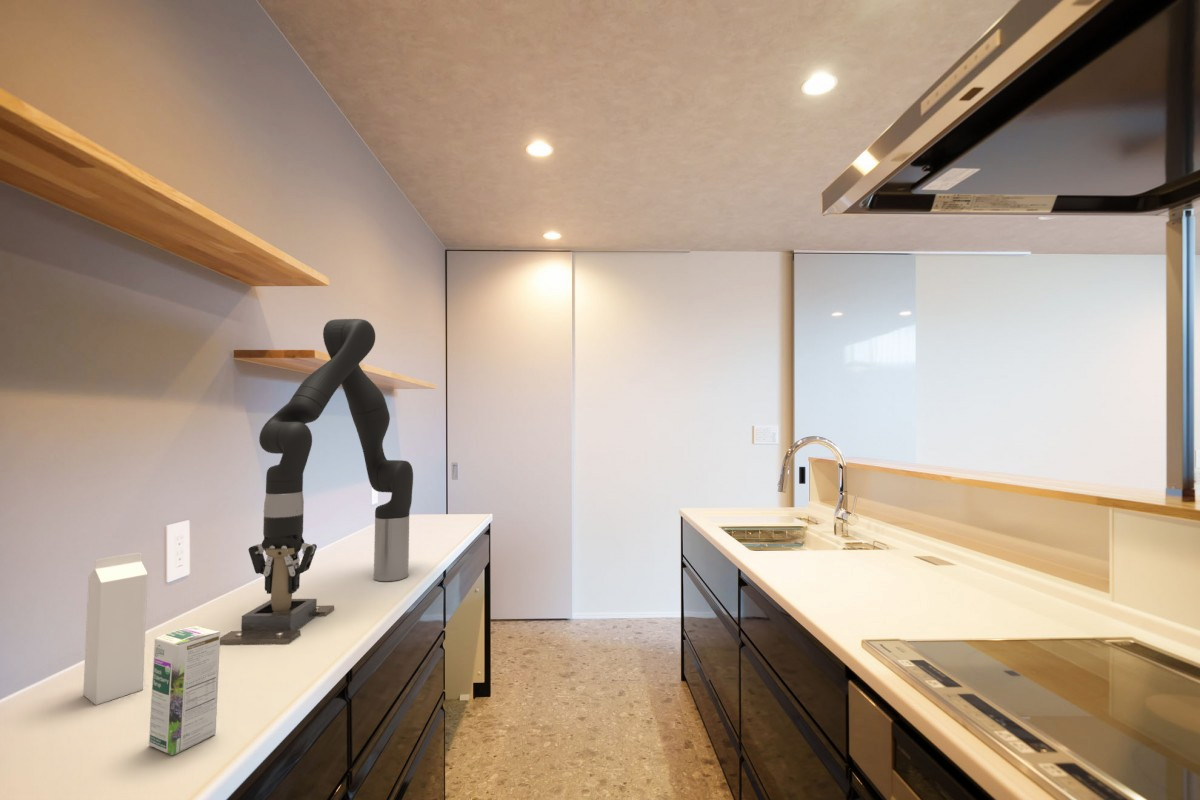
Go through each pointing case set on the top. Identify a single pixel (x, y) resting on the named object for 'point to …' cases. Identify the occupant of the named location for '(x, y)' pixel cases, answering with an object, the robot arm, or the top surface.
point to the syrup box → (184, 688)
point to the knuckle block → (275, 623)
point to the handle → (280, 580)
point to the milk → (115, 628)
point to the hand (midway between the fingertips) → (281, 592)
